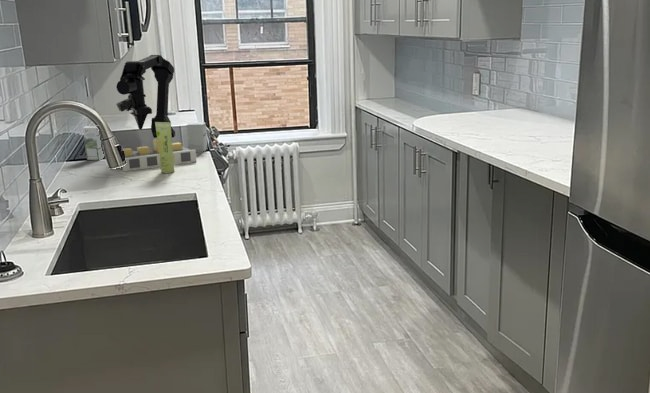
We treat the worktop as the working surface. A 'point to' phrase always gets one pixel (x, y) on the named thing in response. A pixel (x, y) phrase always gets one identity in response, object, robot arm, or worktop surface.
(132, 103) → the robot arm
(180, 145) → the button
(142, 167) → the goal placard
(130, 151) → the button
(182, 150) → the button board
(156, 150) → the button
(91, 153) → the syrup box
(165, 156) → the tube
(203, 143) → the supplement box
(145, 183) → the worktop surface
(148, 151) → the button
